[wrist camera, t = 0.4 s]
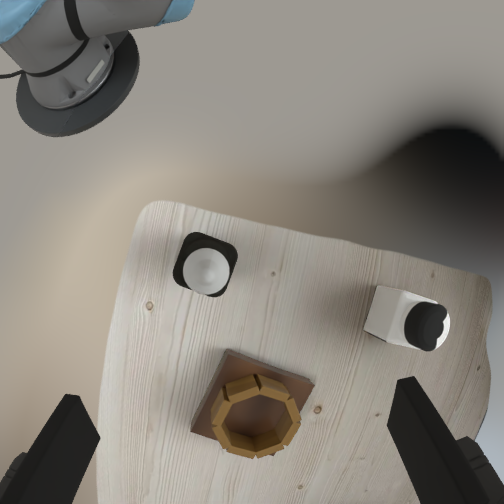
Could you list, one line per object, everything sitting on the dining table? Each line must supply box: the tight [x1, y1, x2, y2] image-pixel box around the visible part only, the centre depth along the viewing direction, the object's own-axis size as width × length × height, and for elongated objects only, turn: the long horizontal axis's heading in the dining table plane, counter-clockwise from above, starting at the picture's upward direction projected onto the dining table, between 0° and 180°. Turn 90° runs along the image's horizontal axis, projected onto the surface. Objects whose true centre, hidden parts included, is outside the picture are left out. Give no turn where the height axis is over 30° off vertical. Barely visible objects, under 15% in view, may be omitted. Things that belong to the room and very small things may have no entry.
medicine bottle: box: [363, 285, 450, 351], centre depth 39 cm, size 7×7×12 cm
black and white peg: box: [173, 232, 238, 297], centre depth 29 cm, size 5×5×25 cm
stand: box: [191, 349, 315, 459], centre depth 39 cm, size 13×13×6 cm
